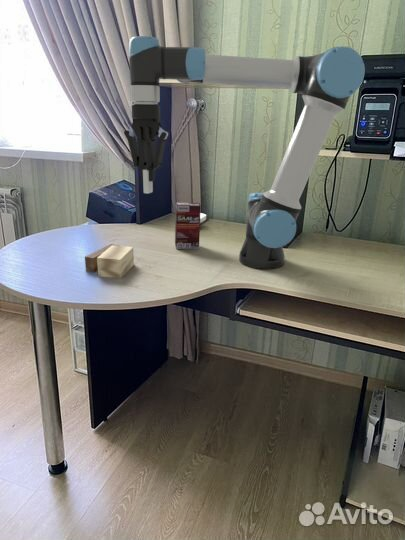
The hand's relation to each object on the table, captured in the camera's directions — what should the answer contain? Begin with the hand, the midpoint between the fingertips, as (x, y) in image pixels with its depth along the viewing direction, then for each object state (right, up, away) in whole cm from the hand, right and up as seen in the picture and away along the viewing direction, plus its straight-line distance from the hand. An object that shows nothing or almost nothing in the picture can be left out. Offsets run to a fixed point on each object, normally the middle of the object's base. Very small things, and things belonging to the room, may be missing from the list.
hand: (148, 192), depth 119 cm
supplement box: (+10, -14, +32) cm, 37 cm away
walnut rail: (-16, -20, +14) cm, 29 cm away
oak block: (-11, -22, +10) cm, 27 cm away
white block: (+10, -2, +65) cm, 66 cm away
